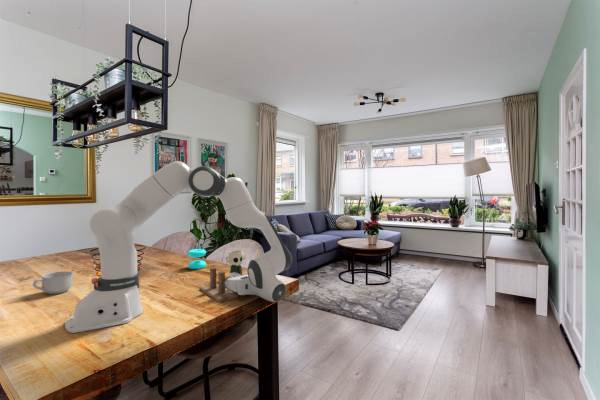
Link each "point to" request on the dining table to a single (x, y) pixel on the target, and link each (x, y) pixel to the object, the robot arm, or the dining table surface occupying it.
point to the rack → (218, 287)
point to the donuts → (197, 263)
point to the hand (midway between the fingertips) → (241, 276)
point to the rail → (235, 274)
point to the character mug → (235, 261)
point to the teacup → (55, 282)
